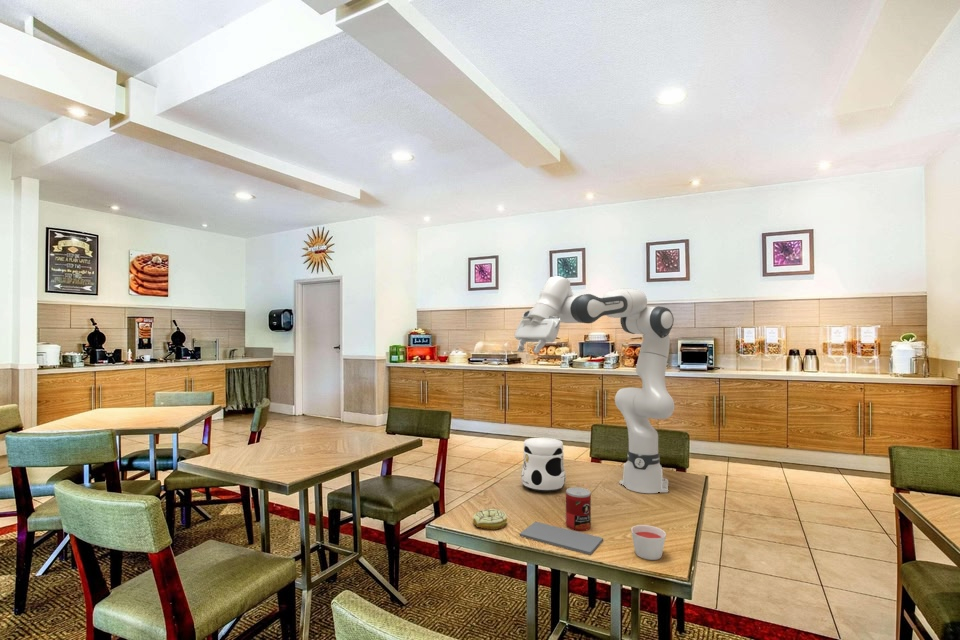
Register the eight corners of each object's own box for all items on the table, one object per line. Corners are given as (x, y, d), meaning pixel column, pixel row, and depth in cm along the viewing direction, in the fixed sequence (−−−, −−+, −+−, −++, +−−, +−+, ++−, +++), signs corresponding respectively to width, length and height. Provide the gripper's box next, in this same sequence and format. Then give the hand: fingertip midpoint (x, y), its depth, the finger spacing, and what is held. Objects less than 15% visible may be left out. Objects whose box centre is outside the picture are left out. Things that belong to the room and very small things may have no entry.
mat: (535, 523, 152) (535, 521, 152) (603, 540, 140) (603, 537, 141) (519, 536, 143) (519, 533, 143) (590, 555, 131) (590, 552, 131)
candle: (637, 544, 138) (637, 522, 138) (669, 553, 133) (669, 530, 133) (626, 556, 131) (626, 532, 131) (660, 565, 126) (660, 541, 126)
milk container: (513, 483, 193) (514, 438, 193) (551, 479, 199) (552, 435, 200) (533, 497, 177) (533, 448, 177) (574, 492, 183) (574, 445, 183)
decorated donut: (471, 518, 157) (471, 507, 157) (504, 517, 158) (504, 506, 158) (474, 532, 146) (474, 519, 146) (509, 530, 147) (509, 518, 147)
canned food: (576, 533, 146) (576, 496, 146) (560, 523, 153) (560, 489, 153) (596, 528, 149) (596, 493, 149) (579, 519, 156) (579, 485, 156)
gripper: (568, 320, 159) (552, 357, 155) (533, 321, 177) (517, 355, 173) (555, 311, 156) (538, 348, 153) (520, 313, 174) (504, 346, 171)
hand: (527, 352), depth 163 cm, fingers open, 8 cm apart
